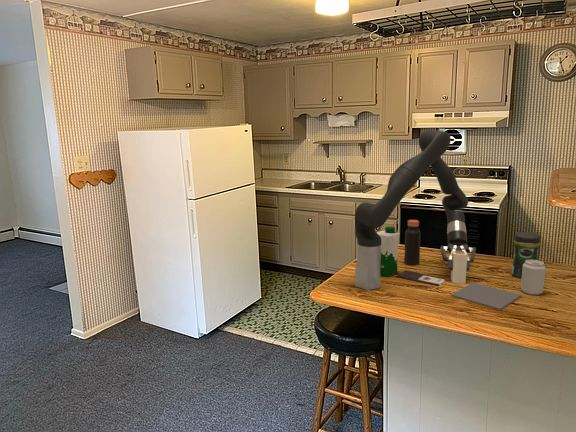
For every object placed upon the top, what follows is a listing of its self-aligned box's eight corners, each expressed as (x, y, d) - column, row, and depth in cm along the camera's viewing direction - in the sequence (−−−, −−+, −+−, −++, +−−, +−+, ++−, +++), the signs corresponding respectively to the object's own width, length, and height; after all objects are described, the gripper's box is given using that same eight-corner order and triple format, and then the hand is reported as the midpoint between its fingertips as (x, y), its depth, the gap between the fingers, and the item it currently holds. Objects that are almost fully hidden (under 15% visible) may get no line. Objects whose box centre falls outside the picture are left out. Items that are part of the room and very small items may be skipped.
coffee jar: (537, 274, 184) (541, 231, 180) (537, 280, 177) (541, 235, 173) (511, 271, 188) (515, 229, 185) (510, 277, 181) (514, 233, 178)
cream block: (465, 283, 175) (467, 253, 173) (452, 282, 176) (454, 253, 174) (463, 279, 180) (465, 250, 177) (450, 278, 181) (452, 249, 179)
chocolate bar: (405, 270, 191) (446, 278, 179) (405, 272, 191) (446, 281, 180) (395, 275, 184) (438, 285, 173) (395, 278, 184) (437, 287, 173)
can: (531, 296, 160) (534, 265, 158) (515, 289, 168) (518, 259, 165) (547, 294, 162) (551, 263, 160) (531, 287, 169) (534, 257, 167)
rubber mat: (500, 310, 149) (500, 308, 149) (450, 296, 163) (450, 294, 162) (521, 296, 161) (521, 294, 161) (473, 284, 174) (473, 282, 174)
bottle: (401, 262, 203) (402, 220, 199) (412, 260, 206) (413, 218, 202) (411, 266, 197) (413, 223, 193) (422, 264, 200) (424, 221, 196)
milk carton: (400, 273, 188) (402, 228, 184) (386, 278, 183) (388, 231, 179) (384, 268, 195) (385, 225, 191) (370, 273, 189) (371, 228, 185)
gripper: (439, 228, 183) (441, 265, 174) (476, 230, 180) (480, 267, 171) (438, 237, 189) (439, 273, 180) (473, 239, 186) (476, 275, 177)
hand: (459, 270), depth 175 cm, fingers open, 5 cm apart
